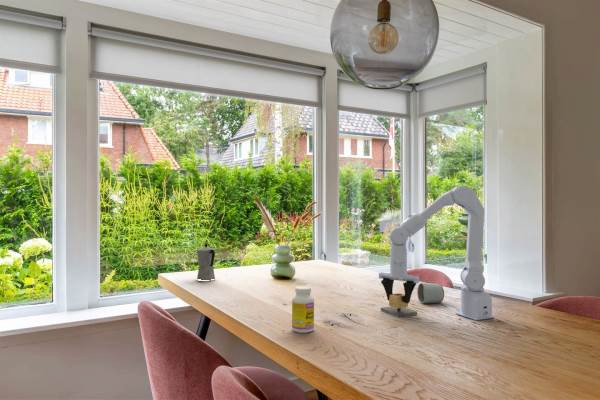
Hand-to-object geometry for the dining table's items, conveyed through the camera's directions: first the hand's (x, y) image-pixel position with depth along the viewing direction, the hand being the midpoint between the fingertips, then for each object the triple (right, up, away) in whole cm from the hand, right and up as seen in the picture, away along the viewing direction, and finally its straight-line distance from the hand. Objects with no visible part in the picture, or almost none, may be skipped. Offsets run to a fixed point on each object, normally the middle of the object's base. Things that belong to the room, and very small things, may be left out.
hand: (398, 301), depth 156 cm
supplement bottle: (-33, -4, -21) cm, 40 cm away
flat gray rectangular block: (0, -4, 0) cm, 4 cm away
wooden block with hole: (0, -2, 0) cm, 2 cm away
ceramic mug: (+15, -4, +16) cm, 22 cm away
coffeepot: (-80, -4, +63) cm, 102 cm away
